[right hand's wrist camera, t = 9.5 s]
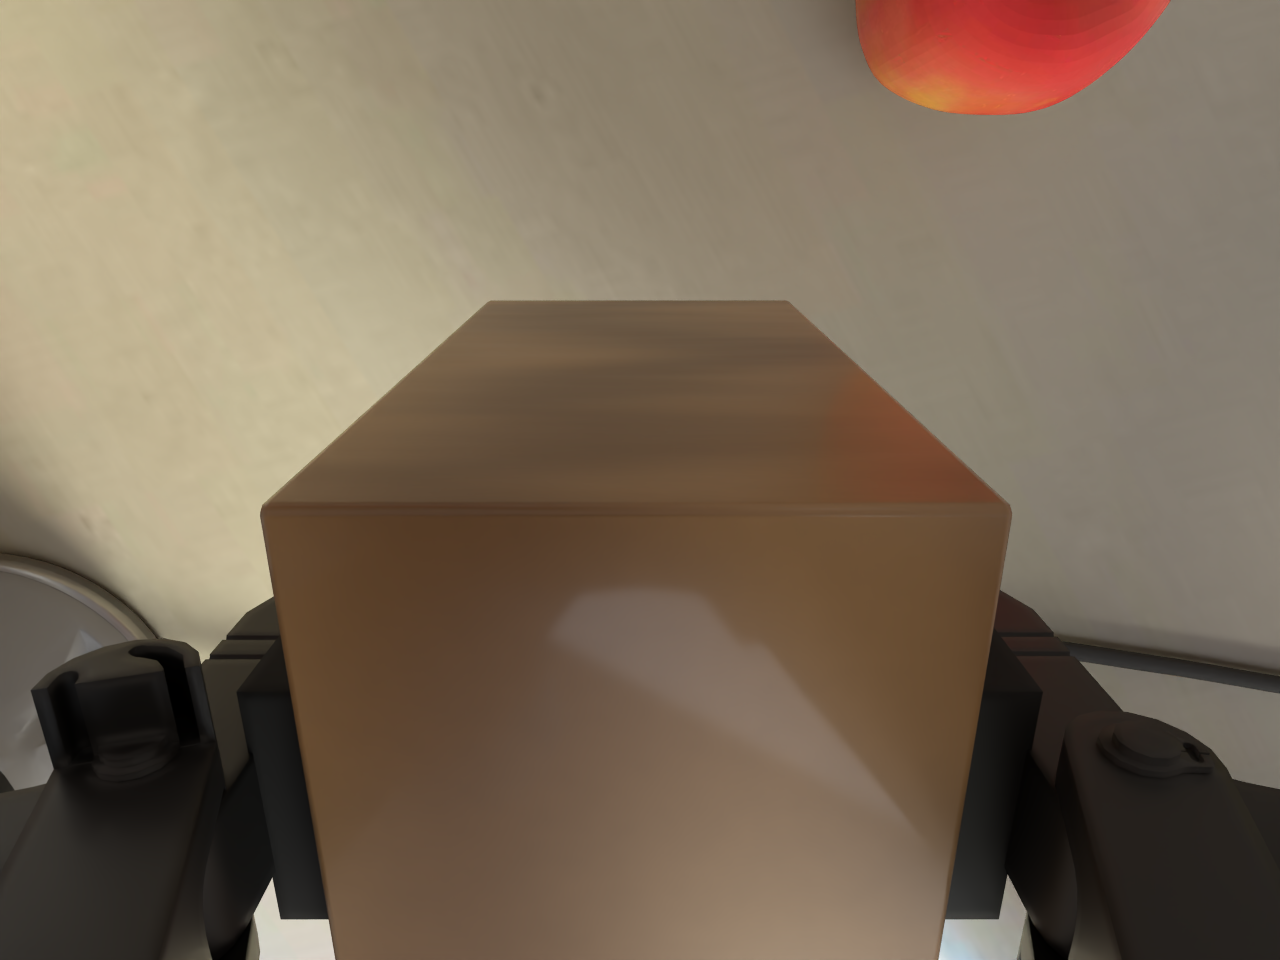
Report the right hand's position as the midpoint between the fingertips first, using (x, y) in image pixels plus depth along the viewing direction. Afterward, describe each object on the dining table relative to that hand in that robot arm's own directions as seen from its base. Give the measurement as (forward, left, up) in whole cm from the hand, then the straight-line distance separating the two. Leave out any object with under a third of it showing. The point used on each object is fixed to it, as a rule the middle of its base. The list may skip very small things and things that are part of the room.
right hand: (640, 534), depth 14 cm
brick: (0, 0, -3) cm, 3 cm away
